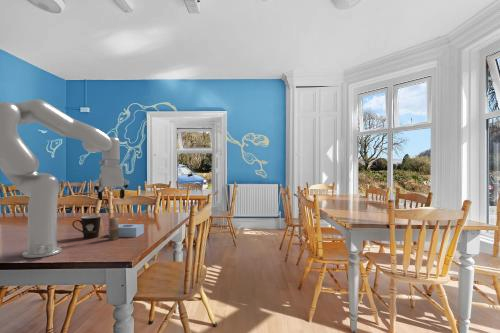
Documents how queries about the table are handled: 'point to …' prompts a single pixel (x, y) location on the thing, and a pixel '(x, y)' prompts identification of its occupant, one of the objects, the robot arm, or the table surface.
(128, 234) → the socket board
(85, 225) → the coffee mug
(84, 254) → the table surface
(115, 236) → the peg
